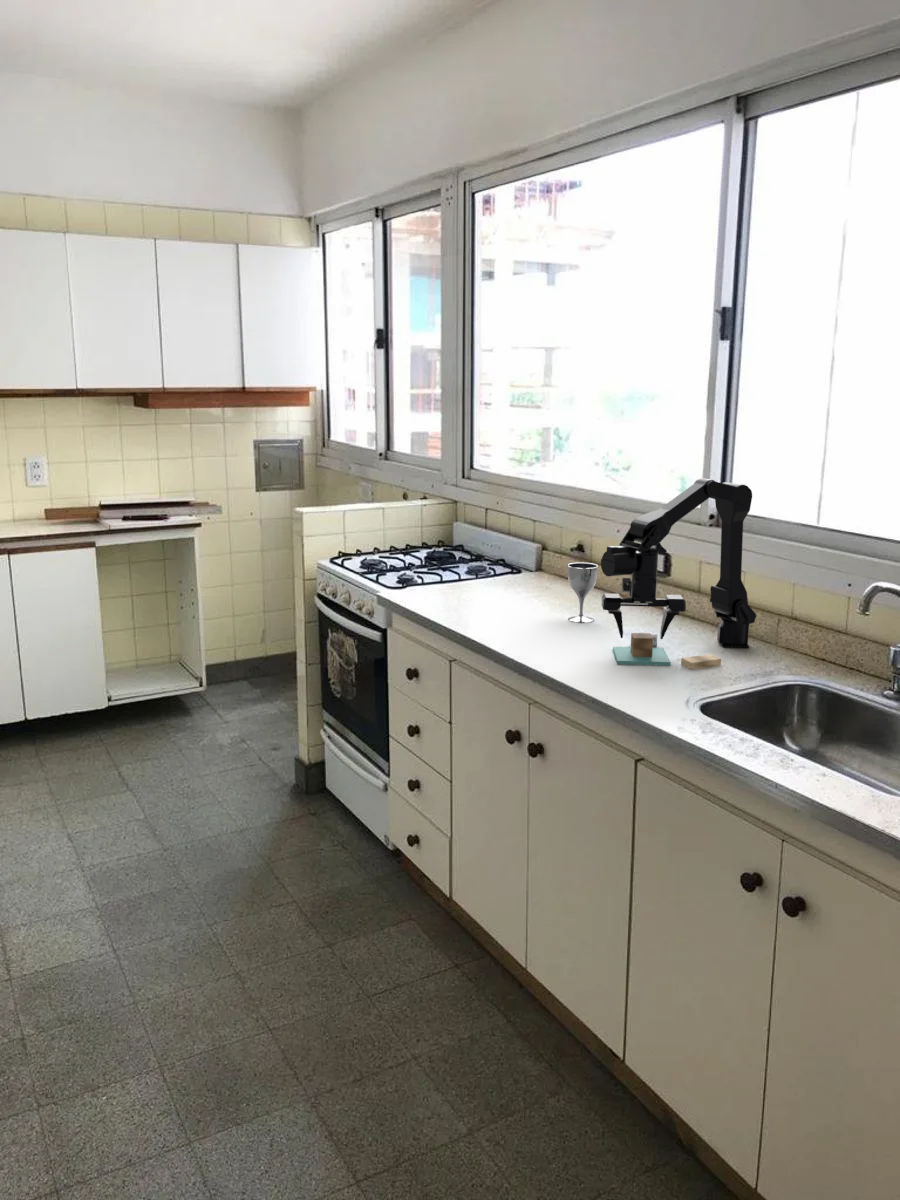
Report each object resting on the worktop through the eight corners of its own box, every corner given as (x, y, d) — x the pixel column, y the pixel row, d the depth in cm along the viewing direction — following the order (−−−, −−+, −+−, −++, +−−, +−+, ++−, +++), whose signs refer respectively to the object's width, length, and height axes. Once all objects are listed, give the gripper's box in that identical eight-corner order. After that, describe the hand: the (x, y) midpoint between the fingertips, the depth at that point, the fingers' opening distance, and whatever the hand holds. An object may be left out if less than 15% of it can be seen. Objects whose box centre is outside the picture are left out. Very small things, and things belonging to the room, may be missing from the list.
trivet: (663, 650, 235) (663, 647, 234) (670, 665, 223) (670, 662, 223) (612, 649, 235) (612, 646, 235) (617, 664, 224) (617, 660, 224)
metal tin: (654, 643, 242) (655, 631, 241) (658, 650, 236) (659, 638, 235) (630, 643, 242) (630, 631, 241) (633, 649, 236) (633, 637, 235)
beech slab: (710, 662, 227) (710, 654, 226) (720, 667, 223) (721, 658, 223) (680, 666, 224) (681, 657, 223) (691, 671, 220) (691, 662, 220)
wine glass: (572, 624, 259) (574, 568, 256) (561, 617, 267) (563, 563, 263) (600, 622, 261) (602, 567, 258) (588, 615, 269) (590, 561, 265)
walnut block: (649, 651, 231) (650, 633, 230) (652, 657, 227) (653, 638, 226) (630, 651, 231) (631, 632, 230) (632, 656, 227) (633, 638, 226)
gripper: (680, 566, 232) (676, 630, 235) (600, 565, 233) (598, 628, 237) (687, 576, 221) (684, 642, 224) (604, 574, 222) (602, 641, 226)
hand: (641, 638), depth 228 cm, fingers open, 9 cm apart
